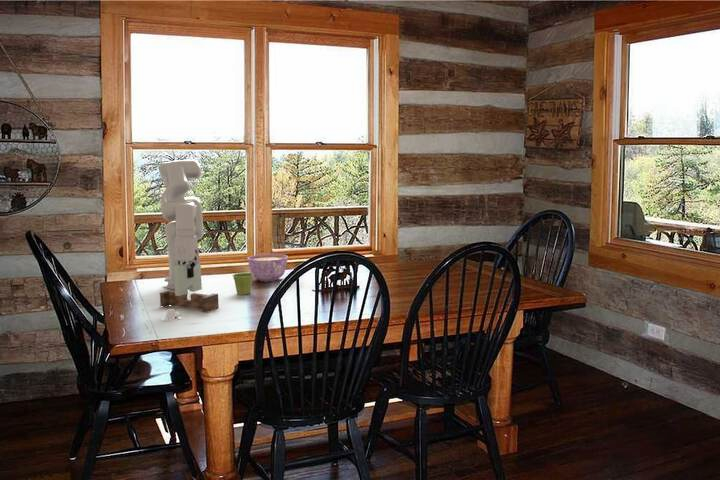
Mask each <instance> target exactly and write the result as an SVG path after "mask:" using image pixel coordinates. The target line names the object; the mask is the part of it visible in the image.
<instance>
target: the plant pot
mask: <svg viewBox="0 0 720 480" xmlns="http://www.w3.org/2000/svg"><path fill="white" fill-rule="evenodd" d="M253 275H254V274H252V273H250V272H240V273H239V272H238V273H234V274H232V278H233V281H234V284H235V290H236V294H237V295H238V296H239V295H241V296H244V295H246V294H247V295H250V294H251V291H252V282H253V279H254V278H253V277H254V276H253Z"/></svg>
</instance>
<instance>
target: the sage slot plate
mask: <svg viewBox="0 0 720 480" xmlns="http://www.w3.org/2000/svg"><path fill="white" fill-rule="evenodd" d="M201 263H202V262H200V263H198V264H196V265H195V267H194V268H193V270H194V277H192V278H188V275H187V269H188V263H186V264H182V265H178V266H174V284H175V296H181V295H184V294H187V295H188V294H189V292H192V293H195V292H197V291H201V290H203V288H202V286H203V285H202V269H201V268H202V266H201ZM188 286H189V288H188ZM188 289H189V290H188Z"/></svg>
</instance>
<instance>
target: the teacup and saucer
mask: <svg viewBox="0 0 720 480" xmlns="http://www.w3.org/2000/svg"><path fill="white" fill-rule="evenodd" d="M165 314H166V315H165V316H166V317H167V318H166V319H168V320H169V319H173V318H174V319H175V317H180V316H181V314H180V312H177V311H176V309H175V308H169V309H166V313H165ZM174 319H173V320H174Z"/></svg>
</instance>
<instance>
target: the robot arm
mask: <svg viewBox="0 0 720 480" xmlns="http://www.w3.org/2000/svg"><path fill="white" fill-rule="evenodd" d="M158 170H159V176H160V178H161V181H162V183H163V185H164V188H165V190H164V191H163V192H162V194H161V196H160V209H161V216H162V218H163V219H164V220H167V221H169V222H167V224H165V226H164V232H165V237H166V238H165V239H166V243H167V252H168V253H167V255H168V268H169V269H168V271H169V276H166V278H164V282H166V283H167V284H166V288H167V289H168V290H172V289H175V284H174V266H178V265H182V264H186V263H188V269H187V275H188V278H192V277H194V270H193V268H194V267H195V265H196V264H198V263H201V261H200V252H199V244H198V241H199V240H202V238H203V237H204V219H203V218H204V217H203V205H202V202H201V200H200V199H199V197H194V196H192V197H189V196H188V197H186V194H187V193H188V192H189V190H190V181H191V180H199V179H200V178H201V175H202V167H201V165H200V163H199V161H198V160H196V159H183V160H181V159H178V160H172V161H165V162H161V164H159V169H158ZM188 289H189V286H188Z"/></svg>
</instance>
